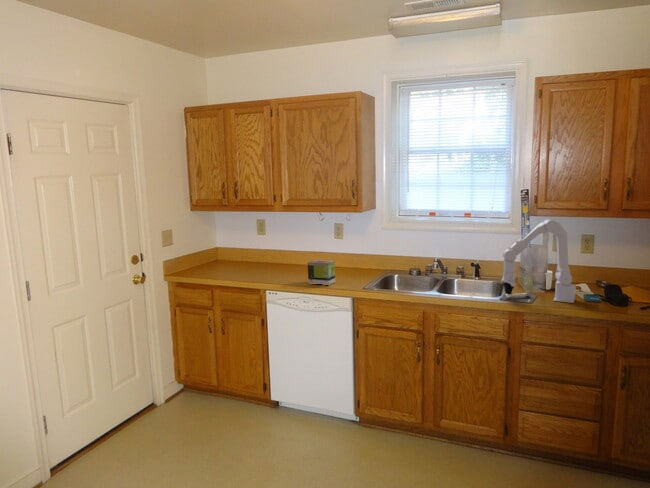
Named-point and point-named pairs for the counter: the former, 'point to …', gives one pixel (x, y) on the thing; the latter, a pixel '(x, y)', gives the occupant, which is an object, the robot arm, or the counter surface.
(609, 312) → the counter surface
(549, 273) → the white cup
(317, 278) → the tea box
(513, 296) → the lever
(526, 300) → the lock plate
